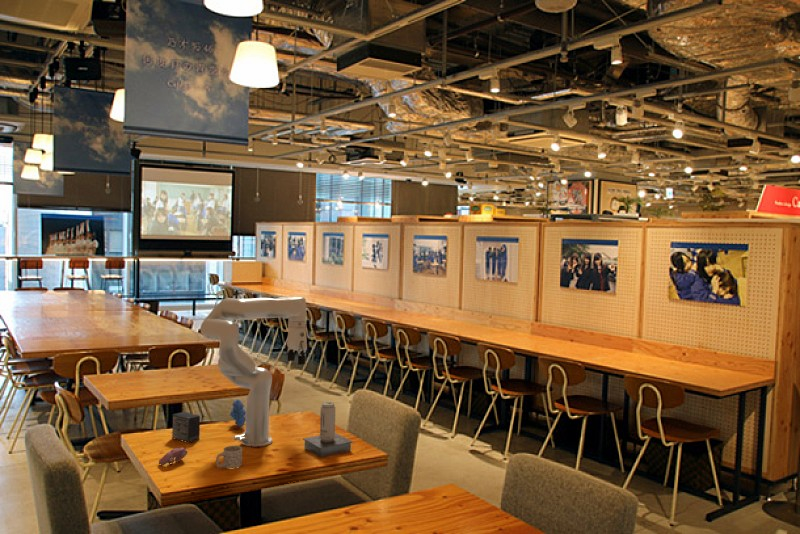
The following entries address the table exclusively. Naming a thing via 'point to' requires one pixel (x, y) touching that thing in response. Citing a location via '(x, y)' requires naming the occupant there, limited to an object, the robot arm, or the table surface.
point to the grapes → (238, 413)
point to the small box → (186, 426)
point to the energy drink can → (327, 422)
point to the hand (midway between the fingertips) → (296, 362)
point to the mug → (230, 457)
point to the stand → (327, 445)
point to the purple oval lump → (173, 456)
